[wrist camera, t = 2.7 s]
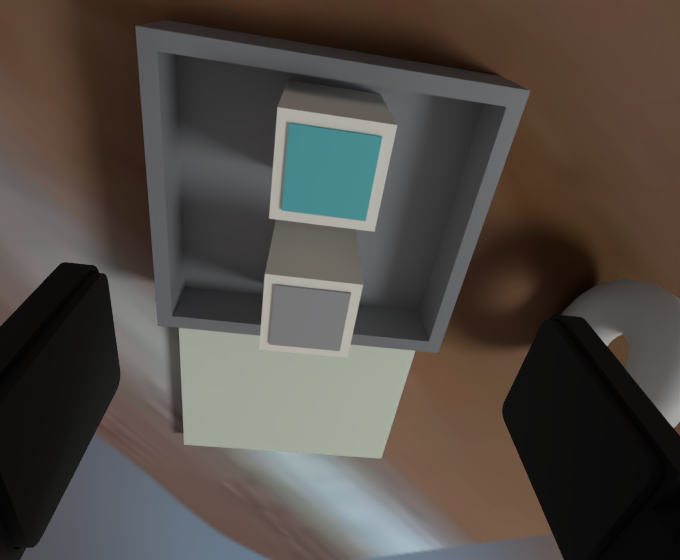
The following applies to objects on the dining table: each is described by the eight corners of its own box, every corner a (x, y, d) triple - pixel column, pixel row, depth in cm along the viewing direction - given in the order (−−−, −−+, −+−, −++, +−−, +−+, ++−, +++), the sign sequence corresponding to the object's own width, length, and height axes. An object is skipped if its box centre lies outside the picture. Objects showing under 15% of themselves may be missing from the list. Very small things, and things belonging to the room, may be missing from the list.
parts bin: (164, 19, 22) (135, 25, 18) (500, 75, 23) (530, 90, 20) (176, 287, 30) (157, 325, 26) (425, 313, 31) (438, 352, 28)
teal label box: (287, 79, 22) (277, 108, 17) (380, 94, 23) (397, 125, 18) (280, 171, 25) (268, 219, 19) (364, 182, 25) (374, 233, 20)
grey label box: (276, 218, 26) (264, 275, 21) (355, 228, 27) (363, 286, 21) (270, 285, 29) (258, 350, 23) (343, 293, 29) (347, 359, 24)
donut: (600, 242, 29) (715, 347, 20) (644, 258, 30) (772, 367, 21) (513, 355, 34) (576, 477, 25) (552, 366, 34) (626, 489, 26)
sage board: (182, 305, 30) (178, 314, 29) (416, 329, 32) (419, 338, 31) (187, 434, 37) (184, 444, 36) (380, 448, 39) (381, 458, 38)
